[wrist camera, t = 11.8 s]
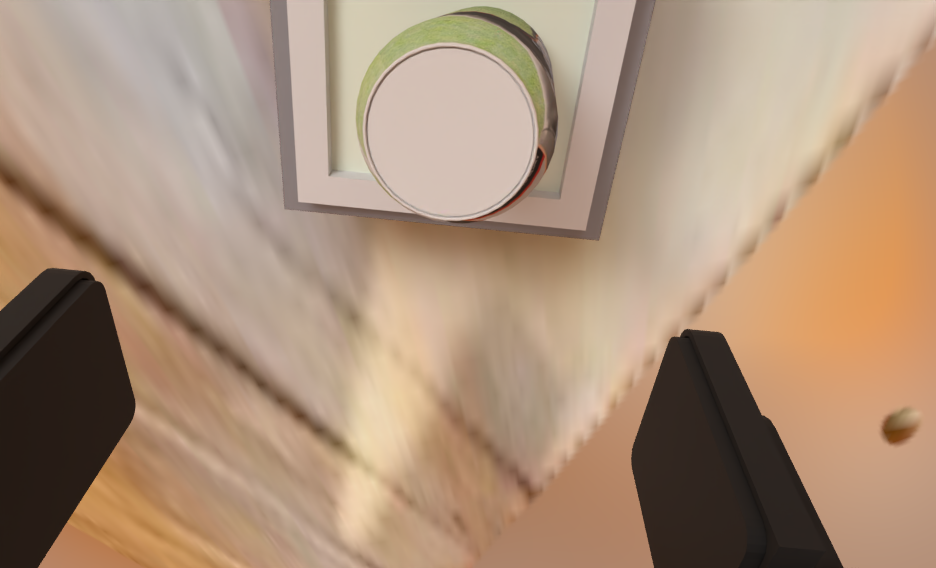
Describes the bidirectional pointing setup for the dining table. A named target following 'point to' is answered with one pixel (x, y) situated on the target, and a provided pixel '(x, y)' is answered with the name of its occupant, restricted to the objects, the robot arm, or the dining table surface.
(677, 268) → the dining table surface
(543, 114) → the beverage can
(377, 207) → the stand
